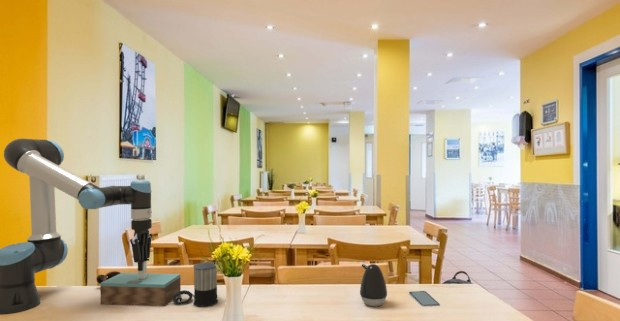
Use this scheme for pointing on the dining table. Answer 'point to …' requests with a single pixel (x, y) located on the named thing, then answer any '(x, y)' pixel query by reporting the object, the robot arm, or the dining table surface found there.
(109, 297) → the storage box
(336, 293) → the dining table surface
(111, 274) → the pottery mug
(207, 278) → the milk frother
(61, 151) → the robot arm
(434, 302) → the smartphone
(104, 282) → the lid
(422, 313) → the dining table surface
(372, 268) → the pump dispenser
